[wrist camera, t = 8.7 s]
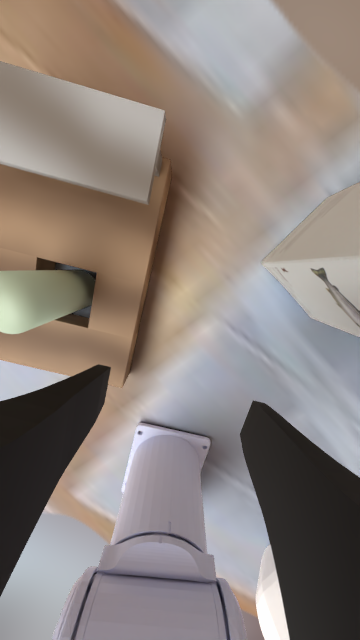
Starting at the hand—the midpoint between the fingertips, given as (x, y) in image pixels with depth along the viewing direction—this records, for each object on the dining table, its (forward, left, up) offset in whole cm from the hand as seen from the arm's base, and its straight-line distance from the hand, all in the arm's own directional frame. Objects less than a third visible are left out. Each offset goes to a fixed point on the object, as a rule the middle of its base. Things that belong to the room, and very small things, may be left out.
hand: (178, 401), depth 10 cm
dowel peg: (+2, +10, -10) cm, 14 cm away
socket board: (+4, +10, -10) cm, 15 cm away
